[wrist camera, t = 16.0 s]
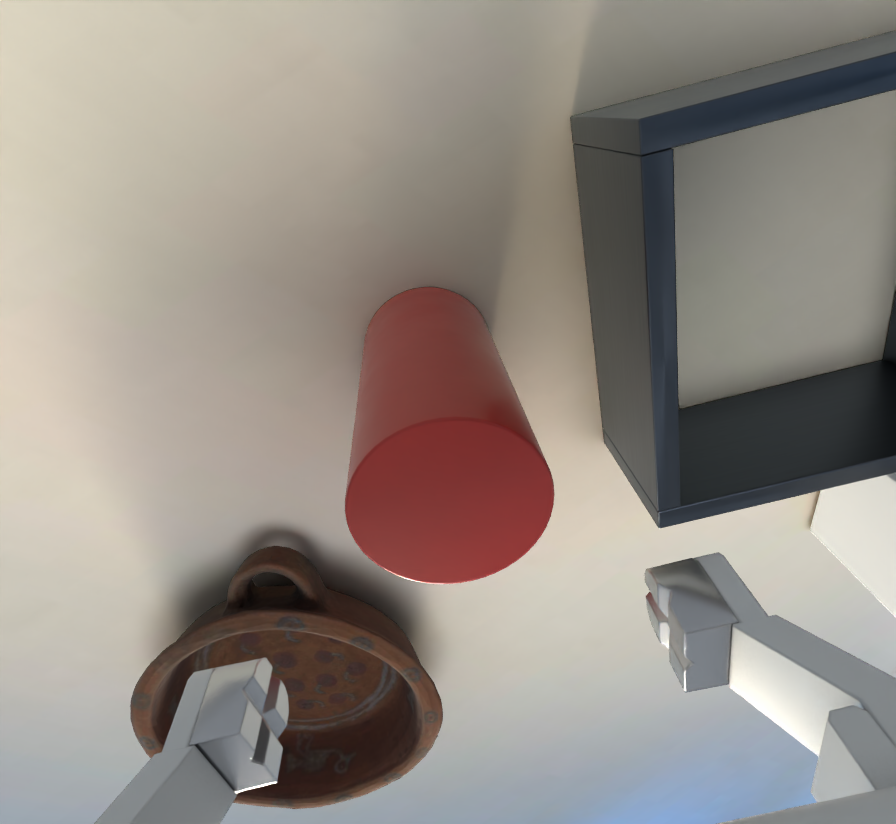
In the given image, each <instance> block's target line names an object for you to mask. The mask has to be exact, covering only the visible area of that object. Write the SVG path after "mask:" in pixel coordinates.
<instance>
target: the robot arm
mask: <svg viewBox="0 0 896 824" xmlns="http://www.w3.org/2000/svg"><path fill="white" fill-rule="evenodd" d="M645 583H646V585H647V587H648V588H649V590H650V592H649V593H648V594H647V596H646V602H647V609H648V613H649V617H650V621H651V623H652V626H653V628H654V631H655V633H656V635H657V637H658V639H659V641H660V643H662V644H663V645H665V646H666V647H668V648H669V658H670V664H671V666H672V668H673V670H674V672H675V674H676V676H677V678H678V679H679V681H680V683H681V685H682V687H683V689H684V691H685V692H691V691H696V690H701V689H706V688H712V687H717V686H722V685H727V684H729V687H730V688H731V689H732V690H734V691H735V692H736V693H738V694H739V695H740V696H741V697H743V698H744V699H745V700H747V701H748V702H749V703H750V704H752V705H753V706H754V707H756V708H757V709H758V710H759V711H761V712H762V713H763V714H765V715H766V716H767V717H769V718H770V719H771V720H772V721H774V722H775V723H776V724H778V725H779V726H780V727H781V728H783V729H784V730H785V731H787V732H788V733H789V734H790V735H792V736H793V737H794V738H796V739H797V740H798V741H799V742H801V743H802V744H803V745H805V746H806V747H807V748H808V749H810V750H811V751H812V752H814V753H815V754H816V755H817V756H819V758H818V762H817V766H816V771H815V775H814V779H813V784H812V788H811V793H812V795H813V796H814V798H815V800H816V801H817V803H813V804H808V805H803V806H798V807H794V808H789V809H784V810H779V811H775V812H770V813H765V814H761V815H756V816H751V817H746V818H742V819H737V820H732V821H727V822H723V823H718V824H896V678H894V677H892V676H891V675H889V674H887V673H885V672H883V671H881V670H879V669H877V668H875V667H874V666H872V665H870V664H868V663H866V662H864V661H862V660H860V659H858V658H857V657H855V656H853V655H851V654H849V653H847V652H845V651H843V650H842V649H840V648H838V647H836V646H834V645H832V644H830V643H828V642H826V641H825V640H823V639H821V638H819V637H817V636H815V635H813V634H811V633H810V632H808V631H806V630H804V629H802V628H800V627H798V626H796V625H794V624H793V623H791V622H789V621H787V620H785V619H783V618H781V617H779V616H777V615H772V616H768V615H767V613H766V612H765V611H764V609H763V608H762V607H761V605H760V604H759V603H758V601H757V600H756V599H755V597H754V596H753V595H752V593H751V592H750V591H749V589H748V588H747V587H746V585H745V584H744V582H743V581H742V580H741V578H740V577H739V576H738V574H737V573H736V572H735V570H734V569H733V568H732V566H731V565H730V564H729V562H728V561H727V560H726V558H725V557H724V556H723V555H722V554H720V553H719V552H718V553H714V554H709V555H705V556H701V557H696V558H690V559H686V560H681V561H677V562H673V563H669V564H665V565H661V566H657V567H653V568H649V569H646V571H645ZM272 668H273V667H272V665H271V664H270V662H269V661H268V660H267V658H260V659H255V660H250V661H245V662H240V663H235V664H230V665H225V666H220V667H216V668H211V669H207V670H202V671H197V672H194V673H193V674H192V675H191V677H190V678H189V679H188V681H187V684H186V686H185V689H184V692H183V695H182V697H181V700H180V703H179V706H178V708H177V711H176V714H175V717H174V720H173V722H172V725H171V728H170V731H169V733H168V736H167V739H166V742H165V745H164V747H163V750H162V752H161V753H157V754H154V756H153V757H152V758H151V759H150V760H149V761H148V762H147V764H146V765H145V766H144V767H143V768H142V769H141V770H140V772H139V773H138V774H137V775H136V776H135V777H134V778H133V780H132V781H131V782H130V783H129V784H128V785H127V786H126V788H125V789H124V790H123V791H122V792H121V793H120V794H119V796H118V797H117V798H116V799H115V800H114V801H113V802H112V804H111V805H110V806H109V807H108V808H107V809H106V810H105V812H104V813H103V814H102V815H101V816H100V817H99V819H98V820H97V821H96V822H95V823H94V824H220V823H221V821H222V819H223V818H224V816H225V814H226V813H227V811H228V809H229V808H230V806H231V805H232V803H233V801H234V800H235V798H236V796H237V794H236V793H237V792H241V791H245V790H249V789H253V788H257V787H261V786H265V785H269V784H273V783H277V780H278V774H279V768H280V762H281V757H282V751H283V747H282V745H281V744H280V742H279V740H278V737H279V736H280V735H281V733H282V732H283V731H284V729H285V728H286V726H287V721H288V715H289V703H288V695H287V691H286V688H285V686H284V684H283V682H282V681H281V679H278V678H276V677H274V676H272V675H271V673H272Z"/></svg>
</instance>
